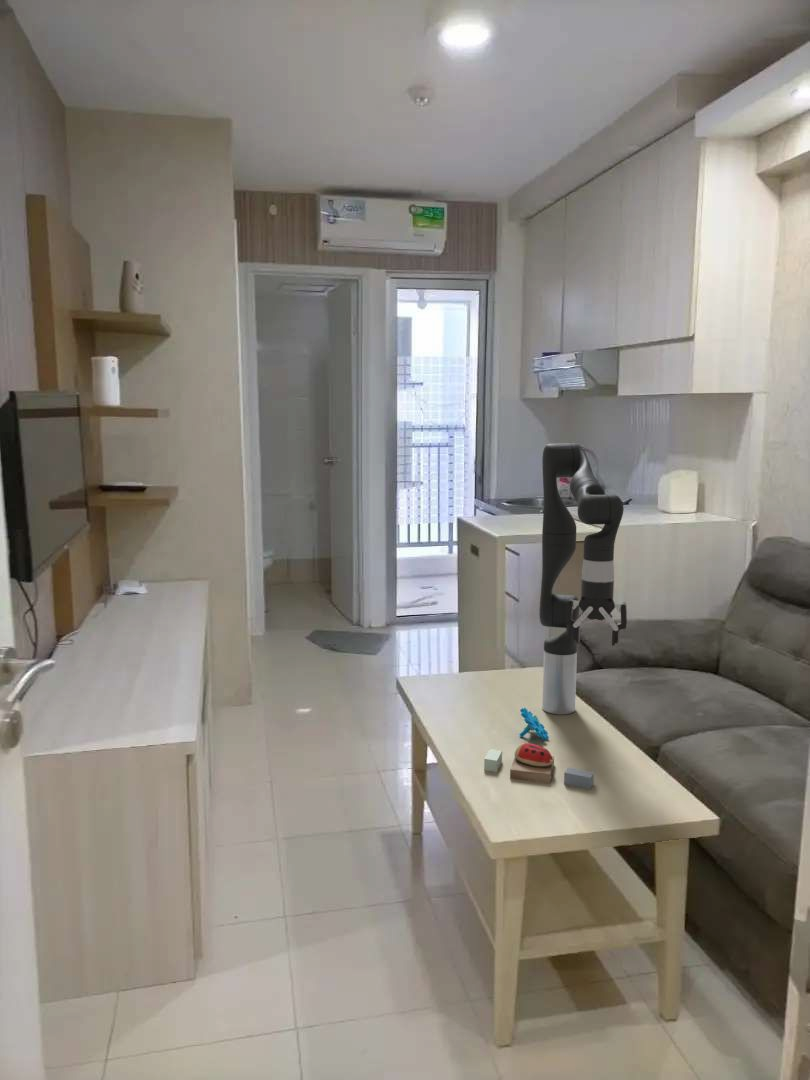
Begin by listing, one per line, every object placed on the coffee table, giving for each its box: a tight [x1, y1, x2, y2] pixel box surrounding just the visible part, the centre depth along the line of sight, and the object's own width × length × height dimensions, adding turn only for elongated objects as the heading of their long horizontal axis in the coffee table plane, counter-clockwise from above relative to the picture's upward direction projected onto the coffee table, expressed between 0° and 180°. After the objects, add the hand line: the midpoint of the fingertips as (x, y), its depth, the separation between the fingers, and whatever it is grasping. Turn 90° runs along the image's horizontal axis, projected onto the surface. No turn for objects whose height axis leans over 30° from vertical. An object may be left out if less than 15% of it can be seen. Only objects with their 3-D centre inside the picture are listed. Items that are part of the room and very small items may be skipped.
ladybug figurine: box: [514, 743, 553, 767], centre depth 188 cm, size 7×10×4 cm
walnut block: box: [509, 755, 555, 784], centre depth 187 cm, size 10×9×3 cm
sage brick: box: [483, 748, 503, 773], centre depth 190 cm, size 6×3×3 cm, turn 161°
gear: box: [519, 707, 550, 741], centre depth 208 cm, size 11×6×10 cm
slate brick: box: [563, 766, 595, 790], centre depth 181 cm, size 6×3×3 cm, turn 63°
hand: (595, 643), depth 193 cm, fingers open, 8 cm apart
